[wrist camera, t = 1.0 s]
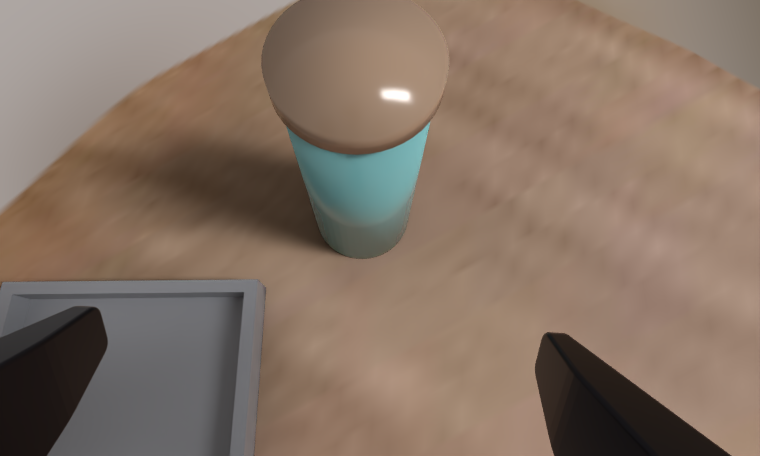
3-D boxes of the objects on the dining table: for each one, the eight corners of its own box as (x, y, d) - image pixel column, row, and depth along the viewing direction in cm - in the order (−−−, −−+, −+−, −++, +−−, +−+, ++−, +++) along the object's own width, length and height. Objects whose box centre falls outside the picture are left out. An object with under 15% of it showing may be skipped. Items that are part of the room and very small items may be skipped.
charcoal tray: (242, 622, 18) (229, 646, 17) (-58, 631, 18) (-101, 656, 16) (265, 287, 23) (257, 279, 21) (29, 289, 23) (2, 281, 21)
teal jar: (413, 262, 24) (455, 138, 12) (311, 262, 24) (253, 138, 12) (409, 170, 26) (443, -14, 14) (315, 171, 26) (268, -16, 14)
